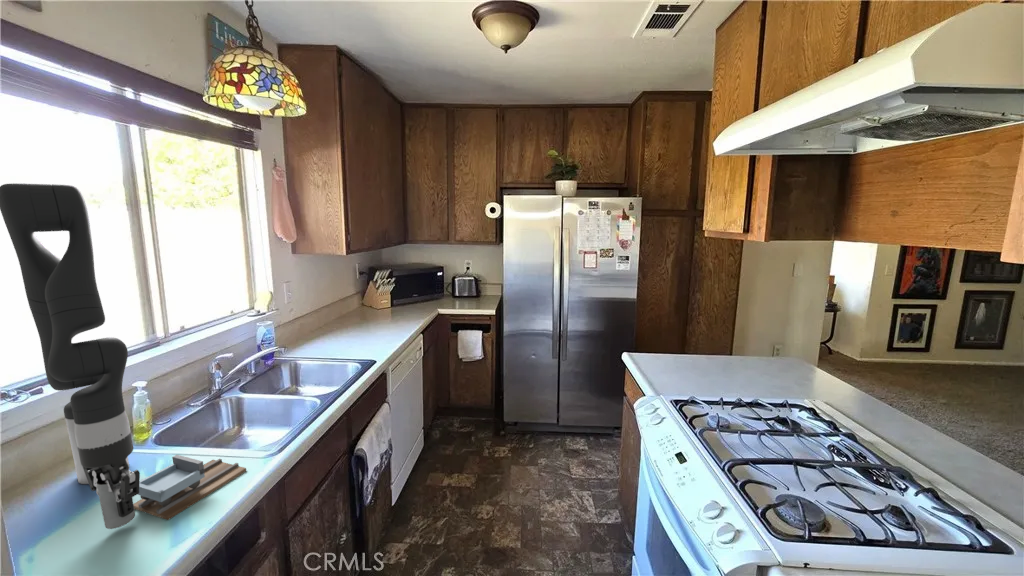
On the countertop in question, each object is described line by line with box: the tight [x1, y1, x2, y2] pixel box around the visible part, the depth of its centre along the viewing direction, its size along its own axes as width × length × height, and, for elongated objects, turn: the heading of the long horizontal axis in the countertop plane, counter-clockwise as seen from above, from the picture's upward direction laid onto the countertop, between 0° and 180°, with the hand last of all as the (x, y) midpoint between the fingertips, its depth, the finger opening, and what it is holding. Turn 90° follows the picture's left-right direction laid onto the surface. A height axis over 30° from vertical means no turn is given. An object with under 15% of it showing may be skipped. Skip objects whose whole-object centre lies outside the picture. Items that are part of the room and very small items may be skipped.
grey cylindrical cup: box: [96, 480, 136, 530], centre depth 81 cm, size 4×4×10 cm
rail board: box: [133, 458, 247, 521], centre depth 95 cm, size 12×18×2 cm, turn 162°
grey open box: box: [136, 454, 205, 506], centre depth 90 cm, size 9×9×6 cm
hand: (118, 511), depth 82 cm, fingers closed on grey cylindrical cup, 4 cm apart
